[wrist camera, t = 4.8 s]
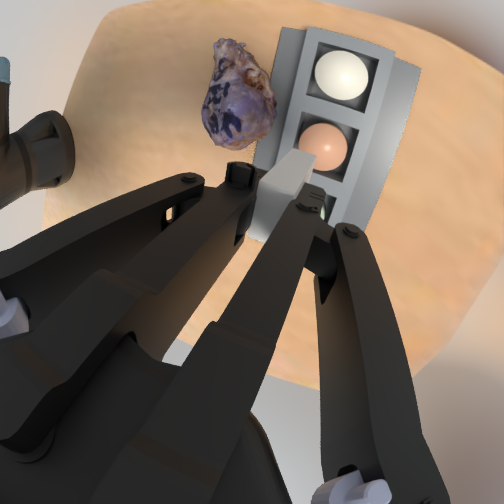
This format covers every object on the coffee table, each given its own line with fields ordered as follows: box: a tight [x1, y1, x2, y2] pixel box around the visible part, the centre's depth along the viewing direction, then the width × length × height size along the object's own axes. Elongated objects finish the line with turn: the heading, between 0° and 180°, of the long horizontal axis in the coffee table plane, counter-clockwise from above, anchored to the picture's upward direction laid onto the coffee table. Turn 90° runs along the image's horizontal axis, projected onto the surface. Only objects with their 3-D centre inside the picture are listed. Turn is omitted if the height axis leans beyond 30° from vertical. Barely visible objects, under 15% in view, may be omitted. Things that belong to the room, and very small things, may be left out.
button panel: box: [253, 26, 421, 232], centre depth 25 cm, size 14×22×4 cm, turn 169°
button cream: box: [315, 51, 368, 100], centre depth 19 cm, size 4×4×2 cm
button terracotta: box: [299, 122, 348, 171], centre depth 25 cm, size 4×4×2 cm
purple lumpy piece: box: [201, 39, 277, 150], centre depth 24 cm, size 12×8×6 cm, turn 7°
